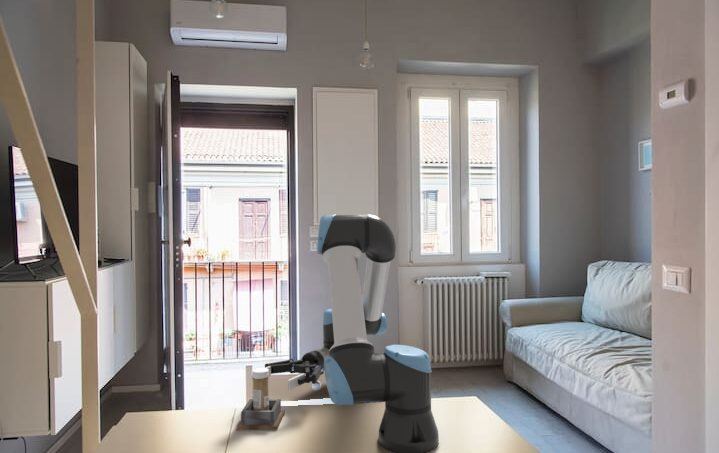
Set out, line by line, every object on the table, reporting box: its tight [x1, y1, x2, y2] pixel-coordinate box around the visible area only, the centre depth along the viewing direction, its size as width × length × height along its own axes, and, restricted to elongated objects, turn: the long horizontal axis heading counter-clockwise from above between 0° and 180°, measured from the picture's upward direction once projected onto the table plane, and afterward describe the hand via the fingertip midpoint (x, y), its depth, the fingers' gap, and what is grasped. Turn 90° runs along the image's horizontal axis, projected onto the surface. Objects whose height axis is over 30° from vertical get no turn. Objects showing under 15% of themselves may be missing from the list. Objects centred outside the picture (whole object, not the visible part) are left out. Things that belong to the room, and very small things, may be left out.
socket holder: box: [235, 398, 286, 431], centre depth 125 cm, size 11×11×4 cm
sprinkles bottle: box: [251, 367, 270, 410], centre depth 125 cm, size 5×5×13 cm
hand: (271, 380), depth 129 cm, fingers open, 13 cm apart
